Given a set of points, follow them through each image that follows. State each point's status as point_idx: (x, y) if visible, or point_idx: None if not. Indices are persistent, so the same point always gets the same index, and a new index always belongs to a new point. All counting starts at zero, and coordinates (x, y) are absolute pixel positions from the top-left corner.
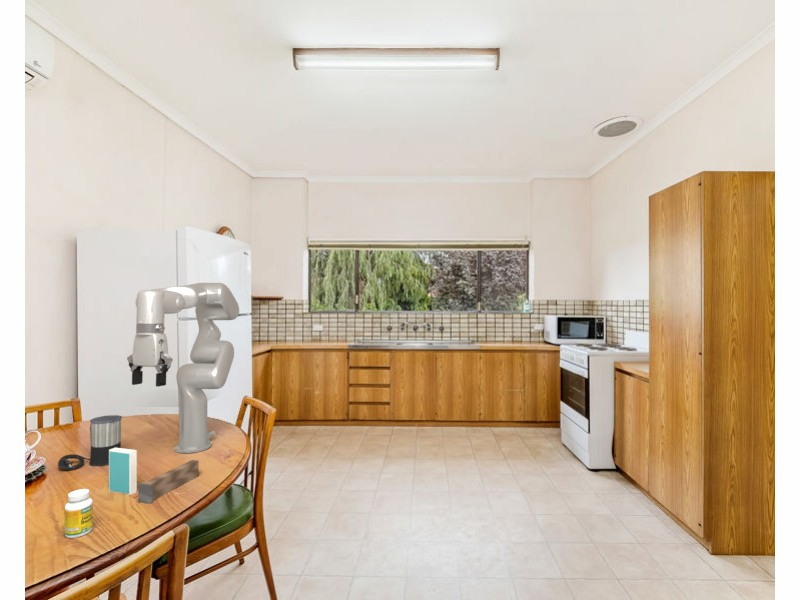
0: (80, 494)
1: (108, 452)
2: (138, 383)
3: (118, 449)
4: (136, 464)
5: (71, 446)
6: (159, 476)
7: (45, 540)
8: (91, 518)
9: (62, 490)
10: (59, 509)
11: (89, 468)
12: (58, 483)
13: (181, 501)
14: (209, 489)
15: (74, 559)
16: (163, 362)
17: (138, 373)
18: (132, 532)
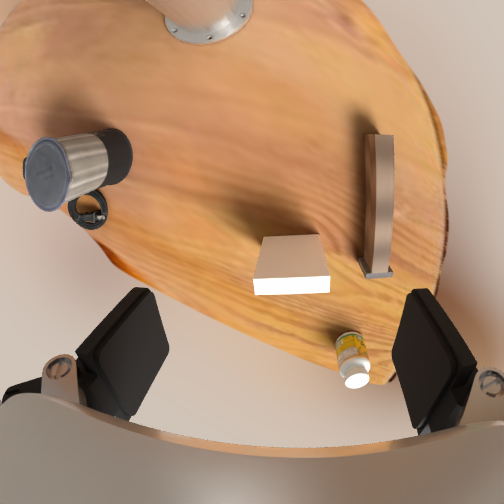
0: (365, 382)
1: (115, 168)
2: (158, 320)
3: (276, 287)
4: (325, 258)
5: (19, 154)
6: (379, 240)
7: (326, 359)
8: (365, 347)
9: (184, 273)
10: (257, 315)
11: (120, 193)
12: (148, 257)
13: (423, 237)
14: (439, 183)
15: (388, 364)
16: (482, 483)
17: (122, 380)
18: None
